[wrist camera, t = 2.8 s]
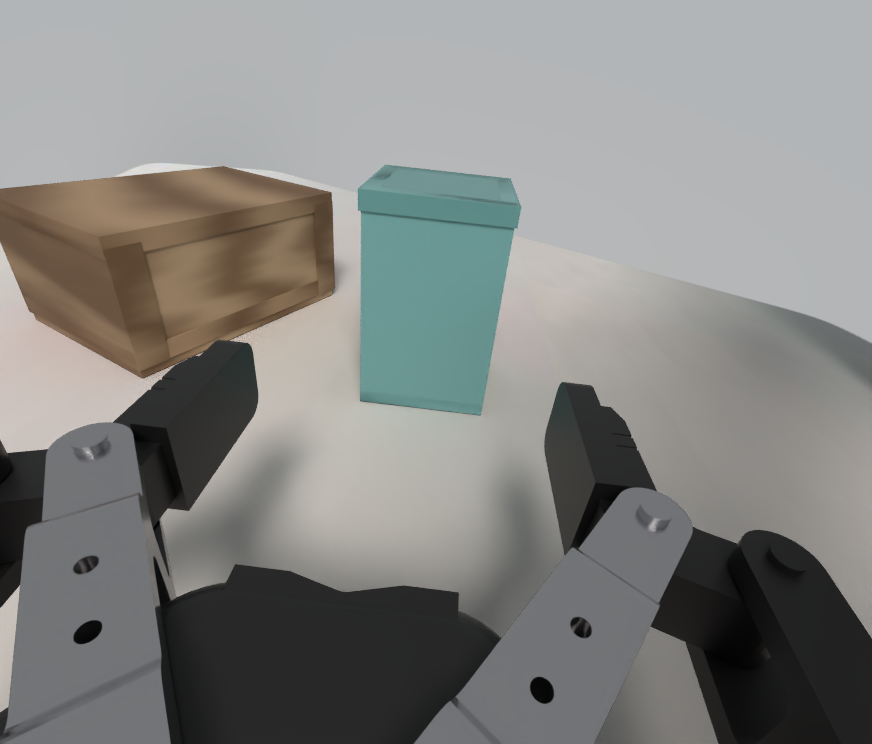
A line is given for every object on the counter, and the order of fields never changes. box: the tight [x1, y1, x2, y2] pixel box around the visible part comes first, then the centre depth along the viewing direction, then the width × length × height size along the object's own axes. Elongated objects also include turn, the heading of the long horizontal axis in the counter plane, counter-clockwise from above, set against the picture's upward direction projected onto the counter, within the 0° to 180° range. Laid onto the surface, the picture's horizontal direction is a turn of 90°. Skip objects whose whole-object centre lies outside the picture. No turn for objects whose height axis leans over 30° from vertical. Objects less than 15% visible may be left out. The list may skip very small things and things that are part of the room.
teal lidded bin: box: [358, 165, 521, 415], centre depth 23 cm, size 6×6×10 cm
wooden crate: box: [0, 166, 335, 378], centre depth 28 cm, size 14×10×7 cm
